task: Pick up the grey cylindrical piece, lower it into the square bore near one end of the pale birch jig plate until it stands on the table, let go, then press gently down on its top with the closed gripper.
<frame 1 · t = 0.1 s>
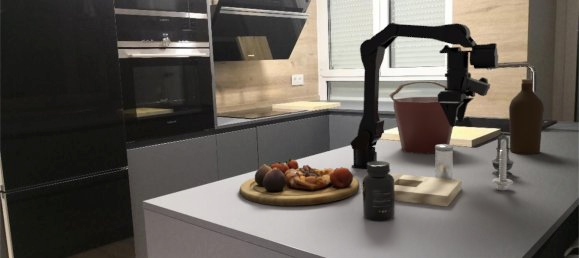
hand: (456, 124, 139), 15 cm above the counter, tool pointing down, fingers open, 9 cm apart
wooden plate with food: (299, 191, 132), on the counter
supplement bottle: (378, 217, 107), on the counter
bucket: (424, 149, 181), on the counter
olive oil: (525, 152, 169), on the counter
grey cylindrical piece: (443, 181, 134), on the counter
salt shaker: (502, 174, 140), on the counter
jig: (407, 192, 125), on the counter
screw: (502, 189, 125), on the counter
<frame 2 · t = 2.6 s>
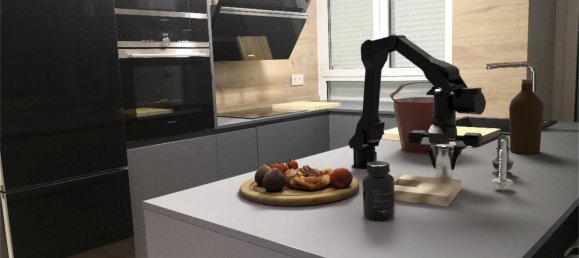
hand: (443, 169, 133), 4 cm above the counter, tool pointing down, fingers closed on grey cylindrical piece, 4 cm apart
grey cylindrical piece: (443, 181, 134), on the counter, touching gripper
everything else where it was.
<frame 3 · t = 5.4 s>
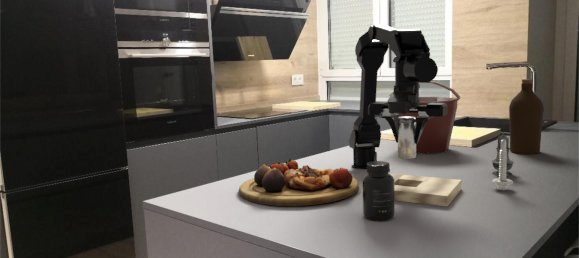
hand: (407, 143, 123), 13 cm above the counter, tool pointing down, fingers closed on grey cylindrical piece, 4 cm apart
grey cylindrical piece: (407, 156, 124), point 9 cm above the counter, touching gripper
everything else where it was.
when the fingers open (4 cm above the counter, at t = 8.5 s): grey cylindrical piece stays where it is, resting in jig.
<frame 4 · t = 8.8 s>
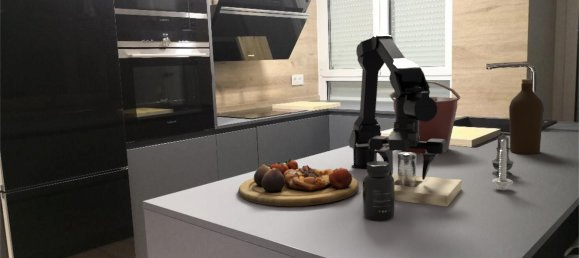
hand: (407, 177, 124), 4 cm above the counter, tool pointing down, fingers open, 8 cm apart
grey cylindrical piece: (407, 192, 125), resting in jig
everything else where it was.
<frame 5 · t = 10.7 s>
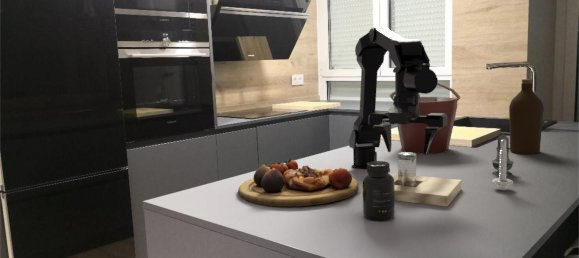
hand: (407, 153, 123), 10 cm above the counter, tool pointing down, fingers open, 9 cm apart
nothing on the counter moved.
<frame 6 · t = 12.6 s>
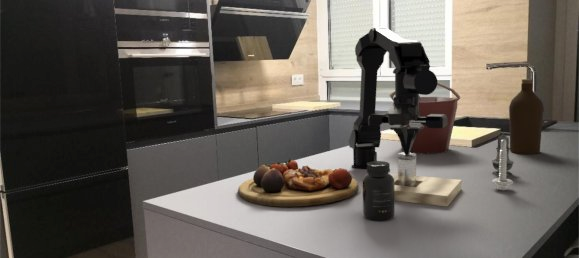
hand: (407, 154, 124), 10 cm above the counter, tool pointing down, fingers closed, pressing on grey cylindrical piece
grey cylindrical piece: (407, 192, 125), resting in jig, touching gripper
everything else where it was.
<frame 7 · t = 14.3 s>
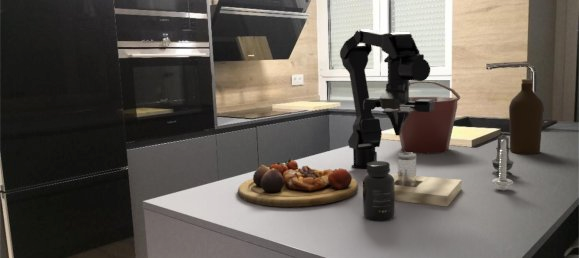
hand: (397, 135, 137), 13 cm above the counter, tool pointing down, fingers closed
grey cylindrical piece: (407, 192, 125), resting in jig
everything else where it was.
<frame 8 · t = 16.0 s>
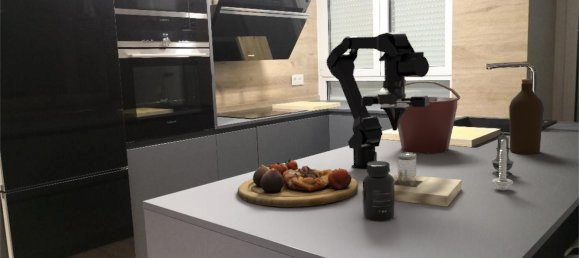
hand: (394, 130, 143), 13 cm above the counter, tool pointing down, fingers closed
at the end: grey cylindrical piece 0.0 cm off-centre on the jig, point 0.0 cm above the jig's base; grey cylindrical piece tilted 0°; the gripper is holding nothing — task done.
